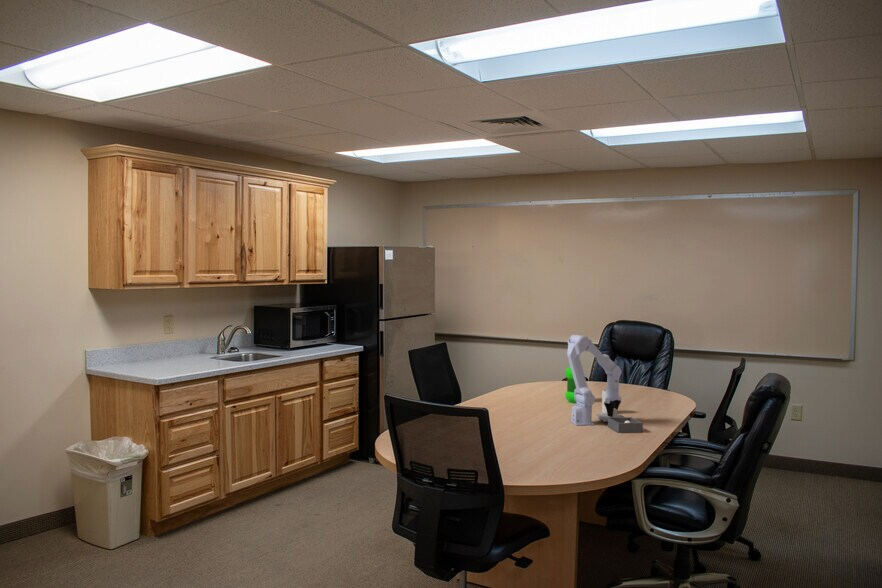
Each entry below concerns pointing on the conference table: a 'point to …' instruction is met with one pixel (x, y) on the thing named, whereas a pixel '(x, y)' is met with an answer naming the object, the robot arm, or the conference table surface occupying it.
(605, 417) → the bin lid
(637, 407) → the conference table surface
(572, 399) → the plastic bottle
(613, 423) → the bin
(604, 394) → the mug
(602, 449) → the conference table surface
